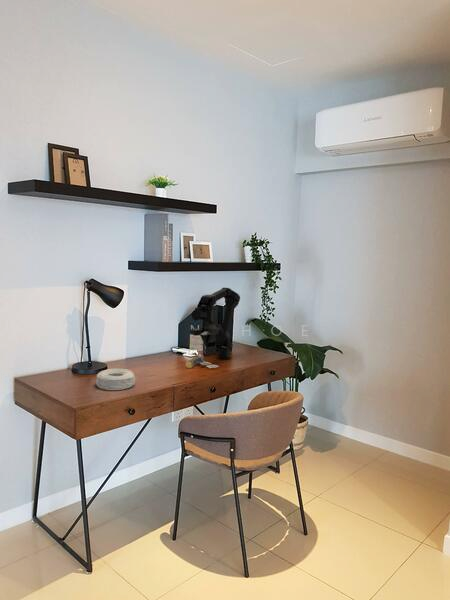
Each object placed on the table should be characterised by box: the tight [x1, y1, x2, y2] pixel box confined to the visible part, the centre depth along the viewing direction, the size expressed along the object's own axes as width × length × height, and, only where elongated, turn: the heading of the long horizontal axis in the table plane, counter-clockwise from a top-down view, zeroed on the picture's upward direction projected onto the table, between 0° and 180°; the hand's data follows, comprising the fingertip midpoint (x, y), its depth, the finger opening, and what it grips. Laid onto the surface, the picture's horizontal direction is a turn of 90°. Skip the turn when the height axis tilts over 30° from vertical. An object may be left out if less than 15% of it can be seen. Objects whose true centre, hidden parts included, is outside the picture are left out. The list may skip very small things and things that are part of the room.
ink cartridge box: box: [189, 333, 203, 355], centre depth 289 cm, size 9×5×15 cm, turn 62°
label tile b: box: [205, 364, 220, 369], centre depth 261 cm, size 6×4×1 cm, turn 126°
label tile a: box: [198, 361, 213, 366], centre depth 267 cm, size 6×4×1 cm, turn 126°
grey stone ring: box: [95, 367, 136, 391], centre depth 220 cm, size 18×18×6 cm
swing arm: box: [185, 354, 205, 369], centre depth 264 cm, size 18×4×4 cm, turn 160°
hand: (205, 346), depth 266 cm, fingers closed
